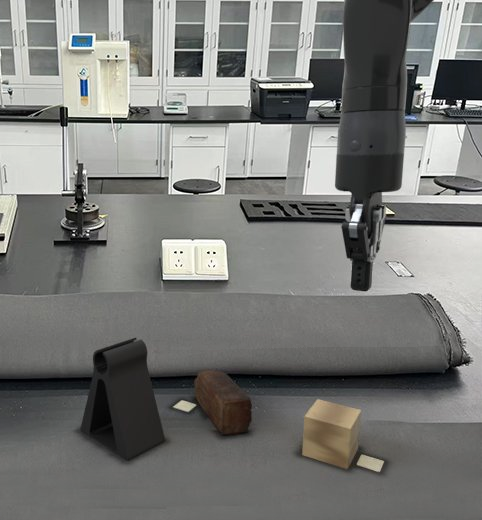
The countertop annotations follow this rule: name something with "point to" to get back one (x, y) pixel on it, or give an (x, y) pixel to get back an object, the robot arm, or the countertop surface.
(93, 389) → the phone stand
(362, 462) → the line marks
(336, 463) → the birch block
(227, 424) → the brick
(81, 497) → the countertop surface
